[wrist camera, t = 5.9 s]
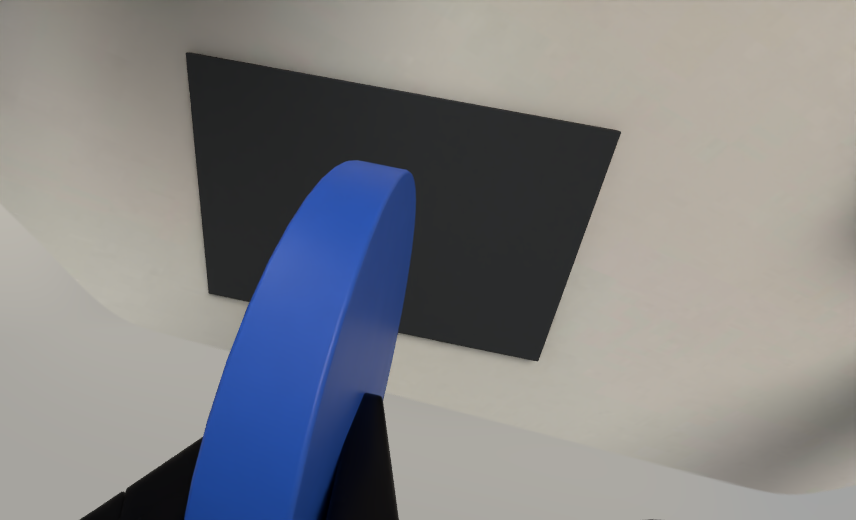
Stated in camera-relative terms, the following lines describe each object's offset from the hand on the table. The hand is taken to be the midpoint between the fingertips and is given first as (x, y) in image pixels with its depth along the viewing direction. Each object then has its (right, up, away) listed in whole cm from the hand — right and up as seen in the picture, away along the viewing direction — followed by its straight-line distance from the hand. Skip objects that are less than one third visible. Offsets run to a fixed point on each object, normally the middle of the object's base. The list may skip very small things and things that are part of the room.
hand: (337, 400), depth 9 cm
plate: (+1, +2, +5) cm, 6 cm away
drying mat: (0, +5, +12) cm, 13 cm away
